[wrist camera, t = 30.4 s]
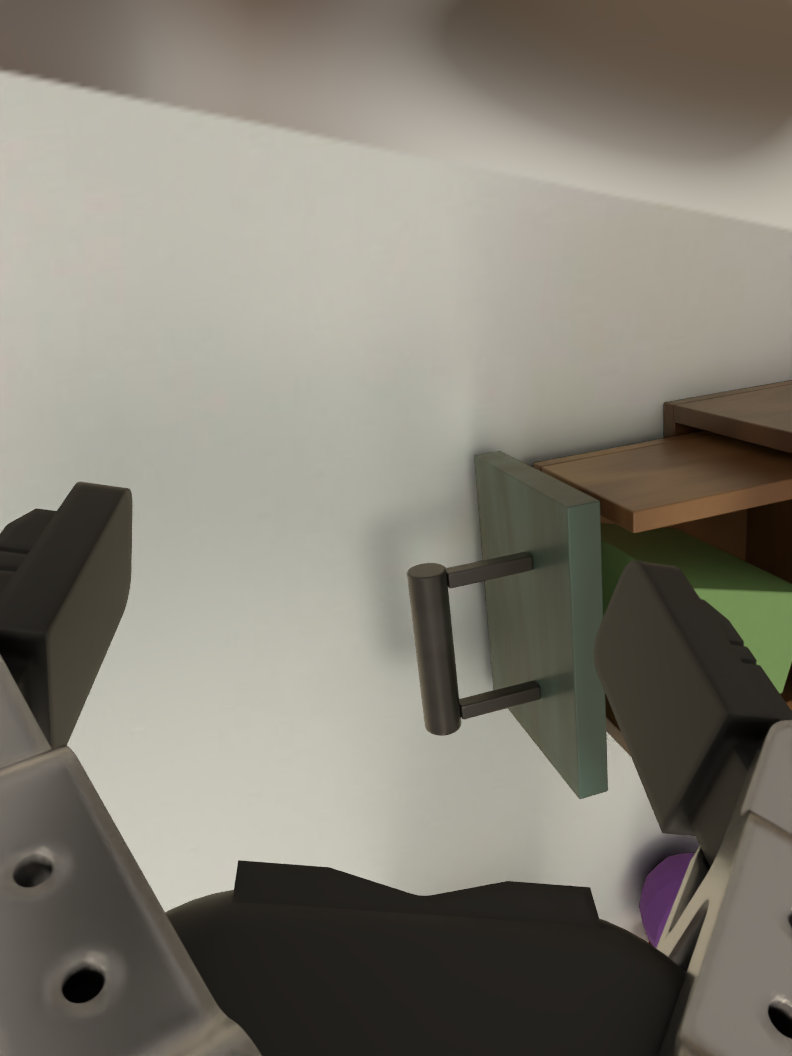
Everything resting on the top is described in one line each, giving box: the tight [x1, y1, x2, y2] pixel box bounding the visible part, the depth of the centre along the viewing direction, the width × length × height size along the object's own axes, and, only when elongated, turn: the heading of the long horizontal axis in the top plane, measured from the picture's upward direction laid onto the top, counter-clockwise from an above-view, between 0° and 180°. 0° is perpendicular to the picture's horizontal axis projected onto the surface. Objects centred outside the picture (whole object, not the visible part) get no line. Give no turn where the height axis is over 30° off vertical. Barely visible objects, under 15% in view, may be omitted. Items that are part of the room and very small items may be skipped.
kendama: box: [639, 853, 695, 948], centre depth 43 cm, size 6×6×20 cm
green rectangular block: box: [601, 524, 792, 693], centre depth 30 cm, size 4×6×8 cm
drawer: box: [407, 431, 792, 799], centre depth 31 cm, size 18×11×8 cm, turn 97°
